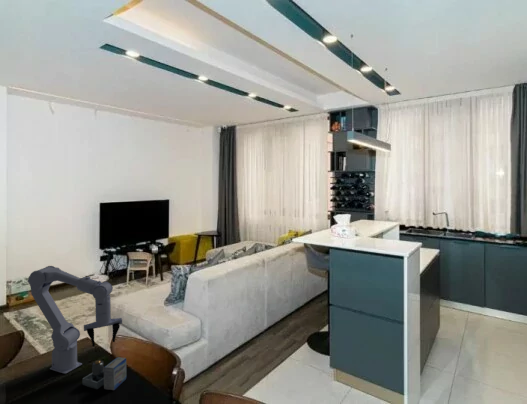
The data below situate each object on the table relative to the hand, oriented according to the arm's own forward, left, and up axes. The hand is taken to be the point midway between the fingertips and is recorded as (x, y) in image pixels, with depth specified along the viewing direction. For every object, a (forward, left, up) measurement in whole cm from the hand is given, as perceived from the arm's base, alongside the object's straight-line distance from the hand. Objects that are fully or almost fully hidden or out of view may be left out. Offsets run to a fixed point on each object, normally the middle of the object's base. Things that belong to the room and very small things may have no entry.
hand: (103, 343), depth 137 cm
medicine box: (+14, -7, -11) cm, 19 cm away
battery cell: (+6, -9, -10) cm, 15 cm away
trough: (+6, -9, -10) cm, 15 cm away
